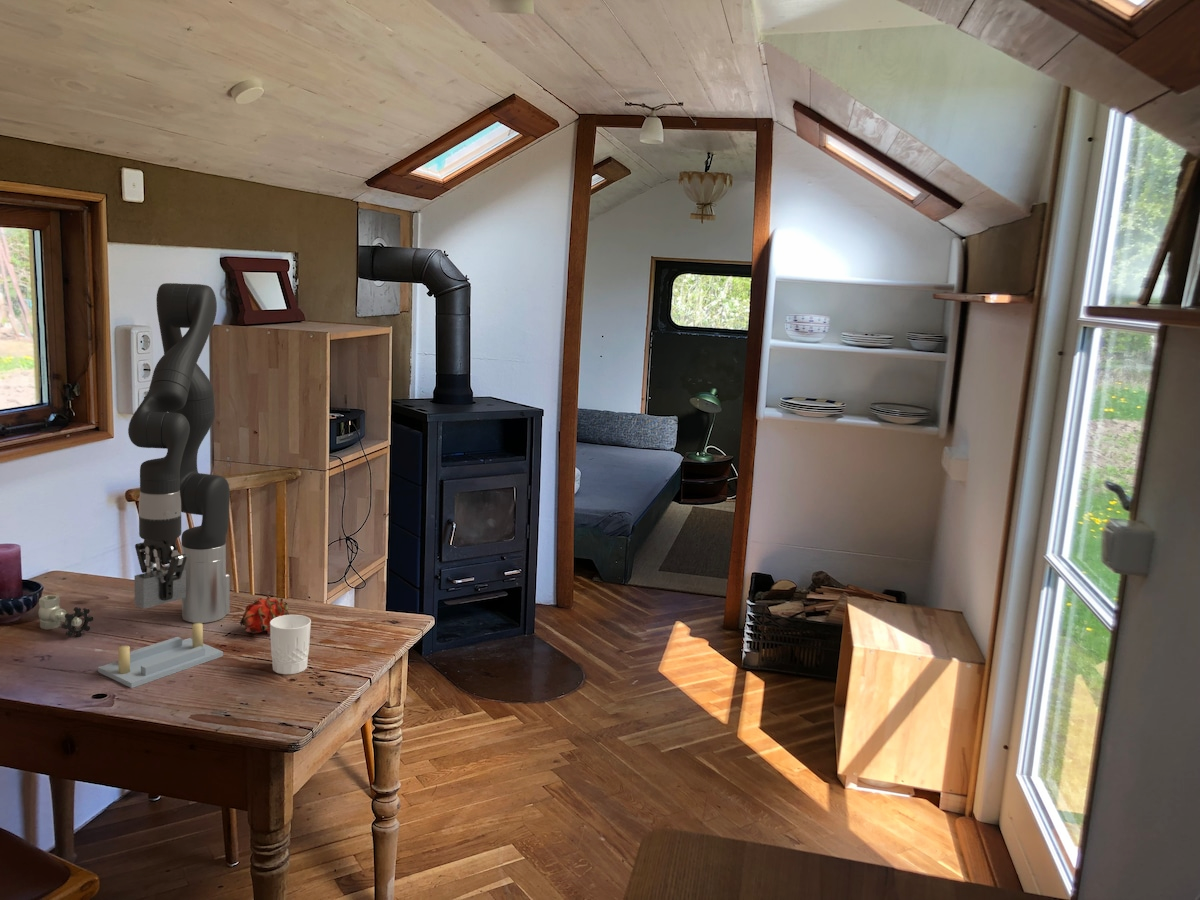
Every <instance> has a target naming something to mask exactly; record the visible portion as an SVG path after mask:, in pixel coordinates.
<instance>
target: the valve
mask: <svg viewBox="0 0 1200 900" xmlns="http://www.w3.org/2000/svg"><path fill="white" fill-rule="evenodd" d="M60 603H61V600H60V596H59V595H57V594H49V595H48V594H47V595H44V596H40V598H39V599H38V606H39V608H38V614H37V615H38V617H39V627H40V628H41V629H43V630H53V629H57V628H59V627H60V626H61V628H62V629H64V630H68V631H65V633H64V634H65V636H66V637H69V638H70V637H72V636H74V637H76V638H81V637H83V636H82V635H83V634H82V632H83V631H85V632H89V631H90V630H91V626H89V625H88V624H89V623H90V622H93V621H94V616H91V615H88V614H89V613H90V611H91V610H90V608H87V607H84V608H83V609H81V607H78V606H76V607H73V610H72V611H73V613H69V612H67V611H66V610H65V609H64V608H61V606H60ZM82 610H83V611H82ZM82 617H83V619H84V622H83V621H82V620H83V619H81V618H82ZM61 623H62V624H61ZM81 625H82V626H81ZM80 626H81V627H80ZM76 627H80V628H76Z"/></svg>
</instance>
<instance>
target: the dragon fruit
mask: <svg viewBox="0 0 1200 900" xmlns="http://www.w3.org/2000/svg"><path fill="white" fill-rule="evenodd" d="M283 600H284V599H283V598H278V597H277V598H272V597H271V596H270V595H266V599H265V598H260V597H259V598H256V599H255V600H254V601H253V603H250V604H247V605H246V607H245V610H244V613H243V615H242V618H241V619H240V620H241V621H240V622H239V624H240V626H241V627H242V626H245V627H246V629H245V630H244V631H245V632H246V633H247V634H259V633H261V632H265V631H266V633H267V635H270V621H271V620H272V619H274V618H276V617H279V616H283V615H290V613H289V612H288V611H289V603H287V602H286V601H283Z"/></svg>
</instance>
